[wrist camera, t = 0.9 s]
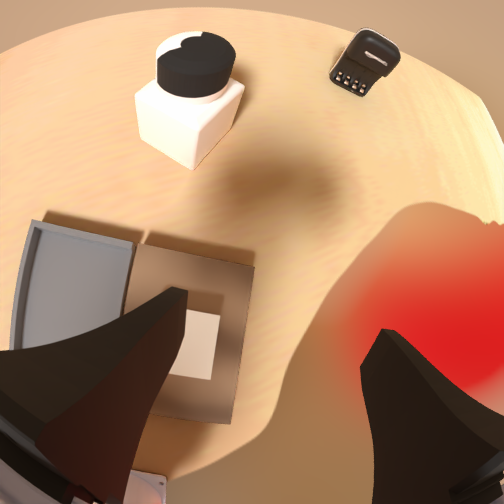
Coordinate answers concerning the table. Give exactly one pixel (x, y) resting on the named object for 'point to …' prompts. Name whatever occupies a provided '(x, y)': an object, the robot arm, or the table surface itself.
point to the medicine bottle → (189, 97)
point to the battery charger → (365, 61)
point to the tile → (197, 346)
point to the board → (201, 300)
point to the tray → (67, 284)
